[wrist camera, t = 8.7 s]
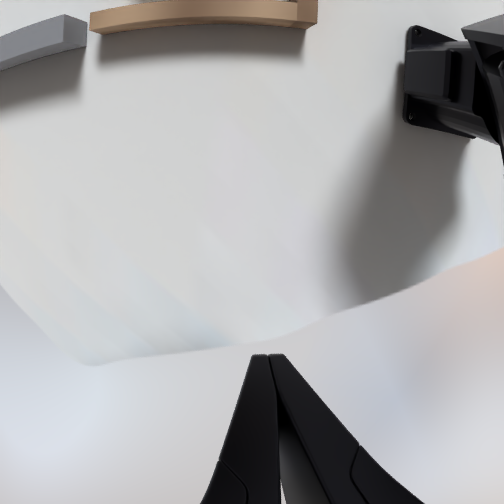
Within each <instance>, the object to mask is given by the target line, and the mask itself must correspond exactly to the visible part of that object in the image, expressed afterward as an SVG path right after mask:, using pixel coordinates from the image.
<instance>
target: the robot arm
mask: <svg viewBox="0 0 504 504" xmlns="http://www.w3.org/2000/svg"><path fill="white" fill-rule="evenodd" d="M415 30H416V31H417V32H418V36H417V35H416V34H415ZM461 30H462V32H463V35H464V37H465V39H468V41H457V40H454V39H452V38H450V37H447V36H445V35H442V34H440V33H437V32H435V31H432V30H429V29H427V28H424V27H421V26H417V25H415V26H411V27H410V28H409V30H408V51H407V52H406V63H405V78H404V90H405V96H404V106H403V120H404V121H405V122H406V123H408V124H411V125H415V126H420V127H425V128H430V129H435V130H439V131H443V132H448V133H452V134H456V135H460V136H464V137H468V138H471V139H475V138H476V137H478V138H481V139H484V140H486V141H489V142H491V143H494V144H496V145H499V146H500V148H501V154H502V159H503V165H504V14H503V15H499V16H496V17H493V18H490V19H486V20H483V21H480V22H477V23H474V24H471V25H469V26H466V27H463V28H461ZM411 113H412V116H413V117H412V119H411V120H410V119H409V115H410V114H411ZM280 479H281V482H280ZM281 483H282V488H283V492H284V496H285V500H286V504H424V503H423V502H422V501H421V500H419V499H418V498H417V497H416V496H414V495H413V494H412V493H411V492H410V491H408V490H407V489H406V488H405V487H404V486H402V485H401V484H400V483H399V482H397V481H396V480H395V479H394V478H392V476H390V474H388V473H387V472H386V471H385V470H384V469H383V468H382V467H381V466H380V465H379V464H378V463H377V462H376V461H375V460H374V459H373V458H372V457H371V456H370V455H369V454H368V452H367V451H366V450H365V449H364V448H363V447H362V446H361V445H360V446H359V443H358V441H357V440H356V439H355V438H354V437H353V435H352V434H351V433H350V432H349V431H348V430H347V429H346V427H345V426H344V425H343V424H342V423H341V422H340V421H339V419H338V418H337V417H336V416H335V415H334V414H333V412H332V411H331V410H330V409H329V408H328V407H327V405H326V404H325V403H324V402H323V401H322V400H321V398H320V397H319V396H318V395H317V394H316V393H315V391H314V390H313V389H312V388H311V387H310V385H309V384H308V383H307V382H306V380H305V379H304V378H303V377H302V376H301V375H300V373H299V372H298V371H297V370H296V368H295V367H294V366H293V365H292V364H291V362H290V361H289V360H288V359H287V358H286V356H285V355H284V354H269V355H268V356H267V355H265V354H259V355H258V354H257V355H256V354H255V355H252V357H251V360H250V363H249V366H248V369H247V372H246V376H245V379H244V382H243V385H242V388H241V392H240V395H239V398H238V401H237V404H236V407H235V410H234V413H233V417H232V420H231V423H230V426H229V429H228V432H227V435H226V438H225V441H224V445H223V447H222V450H221V453H220V456H219V461H218V462H217V464H216V468H215V470H214V473H213V476H212V479H211V481H210V484H209V486H208V489H207V491H206V493H205V495H204V497H203V500H202V501H201V503H200V504H281Z"/></svg>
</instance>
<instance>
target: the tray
mask: <svg viewBox="0 0 504 504" xmlns="http://www.w3.org/2000/svg"><path fill="white" fill-rule="evenodd" d="M317 13H318V0H289V2H285V1H275V0H169V1H159V2H150V3H142V4H135V5H128V6H122V7H117V8H111V9H106V10H101V11H96V12H92V13H90V27H89V30H90V31H93V32H96V33H99V34H102V35H105V34H110V33H116V32H122V31H129V30H136V29H144V28H153V27H163V26H175V25H192V24H253V25H270V26H283V27H293V28H302V29H308V28H309V27H311V26H313V25H315V24H317Z"/></svg>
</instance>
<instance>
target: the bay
mask: <svg viewBox="0 0 504 504" xmlns="http://www.w3.org/2000/svg"><path fill="white" fill-rule="evenodd" d="M86 37H87V22H85V21H82V20H79V19H77V18H74V17H71V16H68V15H65V14H64V15H60V16H57V17H53V18H50V19H47V20H44V21H41V22H38V23H35V24H32V25H29V26H27V27H24V28H21V29H19V30H16V31H13V32H11V33H8V34H6V35H4V36H1V37H0V71H2V70H5V69H7V68H10V67H13V66H16V65H19V64H22V63H25V62H28V61H31V60H34V59H38V58H41V57H45V56H48V55H52V54H55V53H59V52H63V51H67V50H71V49H76V48H80V47H85V46H86Z"/></svg>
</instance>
